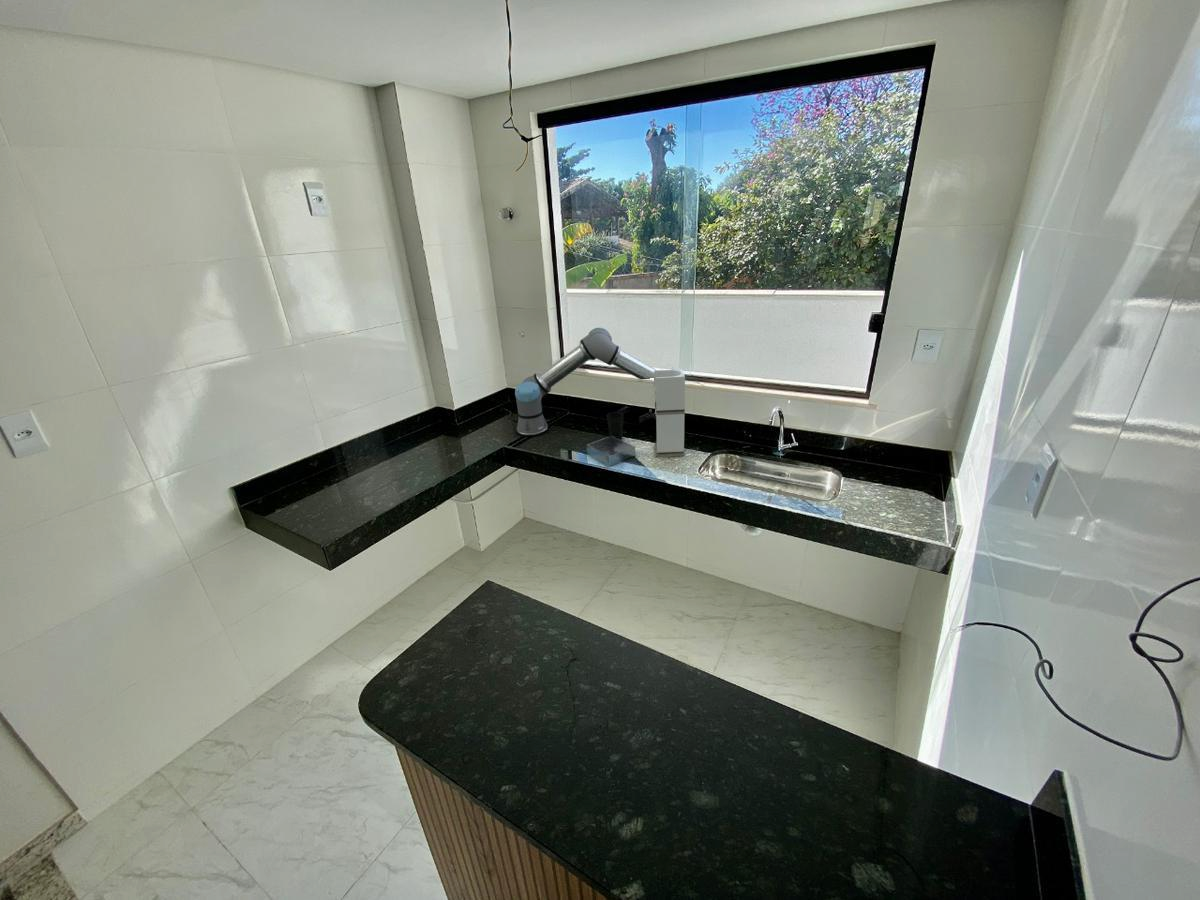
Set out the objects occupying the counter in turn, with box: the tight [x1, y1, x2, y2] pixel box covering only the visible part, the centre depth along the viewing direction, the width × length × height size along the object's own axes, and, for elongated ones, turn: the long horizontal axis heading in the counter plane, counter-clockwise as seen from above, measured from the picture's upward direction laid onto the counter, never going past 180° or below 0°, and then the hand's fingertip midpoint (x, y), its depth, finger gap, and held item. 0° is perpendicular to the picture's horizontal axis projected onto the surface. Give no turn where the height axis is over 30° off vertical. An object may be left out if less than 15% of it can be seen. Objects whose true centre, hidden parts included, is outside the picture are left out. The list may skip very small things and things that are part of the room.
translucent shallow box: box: [586, 435, 636, 467], centre depth 210 cm, size 16×14×4 cm
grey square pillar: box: [653, 368, 686, 458], centre depth 204 cm, size 11×11×35 cm
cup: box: [606, 411, 624, 441], centre depth 223 cm, size 8×8×12 cm
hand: (628, 416), depth 228 cm, fingers open, 13 cm apart
